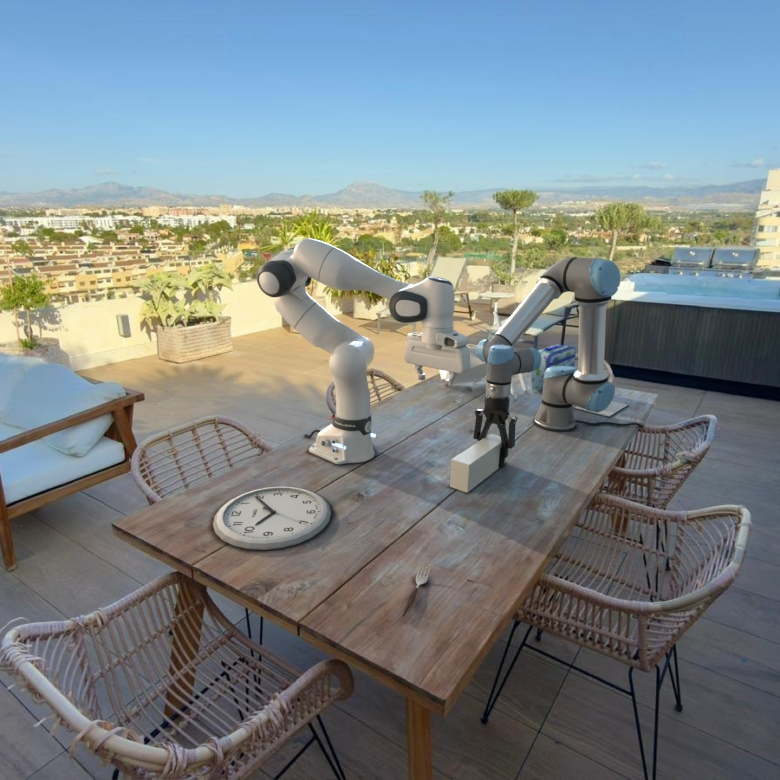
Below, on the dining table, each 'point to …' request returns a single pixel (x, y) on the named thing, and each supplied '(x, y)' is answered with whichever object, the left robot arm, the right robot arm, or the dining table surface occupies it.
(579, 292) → the right robot arm
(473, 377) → the white plastic object
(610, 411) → the invitation card
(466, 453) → the bar
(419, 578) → the fork
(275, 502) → the wall clock
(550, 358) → the lunch box
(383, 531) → the dining table surface
